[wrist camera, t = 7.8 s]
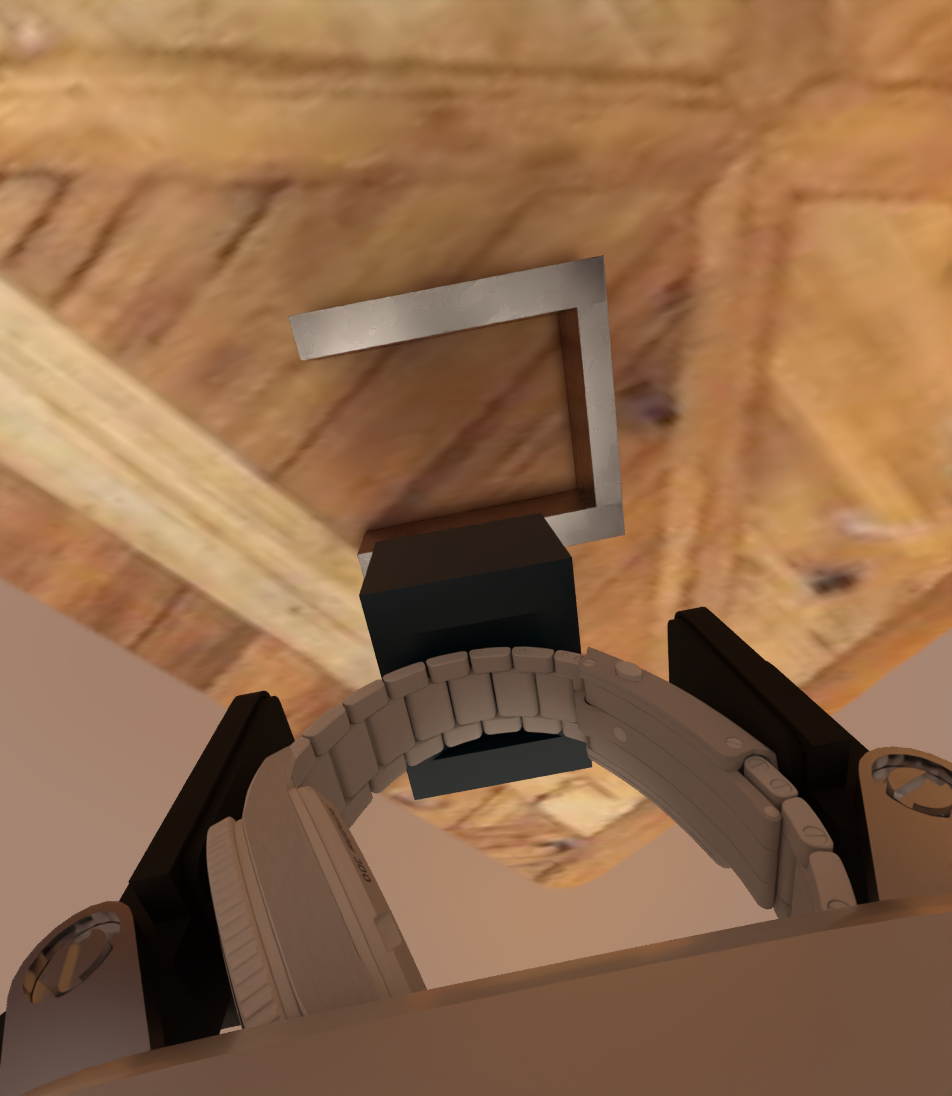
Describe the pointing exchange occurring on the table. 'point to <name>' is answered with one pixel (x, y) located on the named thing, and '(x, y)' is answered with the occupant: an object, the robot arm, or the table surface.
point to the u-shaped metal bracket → (491, 303)
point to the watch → (478, 766)
